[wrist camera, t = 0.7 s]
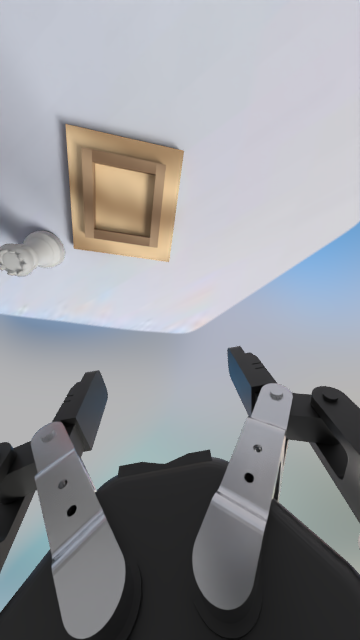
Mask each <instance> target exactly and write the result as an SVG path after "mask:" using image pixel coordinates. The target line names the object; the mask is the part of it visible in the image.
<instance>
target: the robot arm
mask: <svg viewBox="0 0 360 640" xmlns="http://www.w3.org/2000/svg"><path fill="white" fill-rule="evenodd" d="M227 351H228V366H229V373H230V377H231V379H232V381H233V383H234V386H235V388H236V390H237V392H238V394H239V396H240V398H241V401H242V403H243V405H244V407H245V409H246V411H247V413H248V415H249V416H248V417H247V418H246V421H245V423H244V426H243V428H242V431H241V433H240V436H239V438H238V441H237V444H236V446H235V449H234V451H233V454H232V456H231V459H230V462H228V461H225V460H223V459H219V458H214V457H211V453H210V450H205V451H199V452H194V453H189V454H186V455H184V456H182V457H179V458H177V459H175V460H173V461H171V462H169V463H166V464H156V463H147V462H140V463H134V464H129V465H123V466H119V472H118V475H117V476H115V477H113V478H112V479H110V480H108V481H107V482H106V483H104V484H103V485H102V486H101V487H100V488H99V489H98V490H96V488H95V486H94V484H93V482H92V480H91V478H90V476H89V474H88V472H87V470H86V467H85V465H84V463H83V461H82V459H81V456H82V453H83V452H85V451H90V450H92V447H93V444H94V440H95V437H96V434H97V431H98V428H99V425H100V421H101V418H102V415H103V412H104V409H105V405H106V402H107V398H108V394H107V389H106V386H105V383H104V381H103V378H102V375H101V373H100V371H92V372H86V373H85V374H84V376H83V378H82V380H81V382H78V383H76V384H75V385H74V386H73V387H72V388H71V389H70V391H69V393H68V395H67V397H66V398H65V400H64V403H63V404H62V405H61V407H60V409H59V411H58V412H57V414H56V416H55V418H54V420H53V421H52V423H49V424H47V425H45V426H44V427H42V428H41V429H39V430H38V431H37V432H36V433H35V435H34V436H33V438H32V440H31V441H30V442H27V443H25V444H23V445H20V446H18V447H16V448H13V447H12V446H11V445H10V444H9V443H7V442H4V443H0V572H1V569H2V567H3V564H4V562H5V560H6V558H7V555H8V553H9V550H10V548H11V546H12V544H13V541H14V539H15V537H16V534H17V532H18V530H19V527H20V525H21V523H22V521H23V518H24V516H25V514H26V511H27V509H28V507H29V504H30V502H31V500H32V497H33V495H34V493H35V490H37V491H38V496H39V500H40V505H41V509H42V513H43V518H44V522H45V527H46V531H47V536H48V540H49V544H50V550H49V551H48V553H47V554H46V555H45V556H44V558H43V559H42V560H41V562H40V563H39V564H38V565H37V567H36V568H35V569H34V570H33V572H32V573H31V574H30V576H29V577H28V578H27V579H26V581H25V582H24V583H23V584H22V586H21V587H20V588H19V590H18V591H17V592H16V593H15V595H14V596H13V597H12V599H11V600H10V601H9V602H8V604H7V605H6V606H5V607H4V609H3V610H2V611H1V612H0V640H360V574H359V573H358V572H357V571H356V570H355V569H354V568H353V567H352V566H351V565H350V564H349V563H348V562H347V561H346V560H345V559H344V558H343V557H341V556H340V555H339V554H338V553H337V552H336V551H334V550H333V549H332V548H331V547H330V546H329V545H327V544H326V543H325V542H324V541H323V540H322V539H320V538H319V537H318V536H317V535H316V534H315V533H314V532H312V531H311V530H310V529H309V528H308V527H307V526H305V525H304V524H303V523H302V522H301V521H300V520H298V519H297V518H296V517H295V516H294V515H293V514H292V513H290V512H289V511H288V510H287V509H286V508H285V507H283V506H282V505H281V504H280V503H279V497H280V490H281V484H282V483H281V482H282V476H283V470H284V464H285V458H286V452H287V447H288V441H289V439H290V440H297V441H305V442H309V443H310V444H311V446H312V448H313V449H314V451H315V452H316V454H317V456H318V457H319V459H320V460H321V462H322V464H323V465H324V467H325V468H326V470H327V472H328V473H329V475H330V476H331V478H332V480H333V481H334V483H335V484H336V486H337V488H338V489H339V490H340V492H341V494H342V496H343V497H344V499H345V500H346V502H347V504H348V505H349V507H350V508H351V510H352V512H353V513H354V515H355V516H356V518H357V519H358V521H359V522H360V408H359V407H357V406H356V405H355V404H354V403H353V402H352V401H351V400H350V399H349V398H348V397H347V396H346V395H345V394H344V393H342V392H341V391H339V390H337V389H335V388H331V387H326V386H320V387H317V388H315V389H314V390H313V391H312V395H308V394H296V393H292V392H291V391H290V390H289V389H288V388H287V387H285V386H283V385H281V384H277V382H276V381H275V380H274V379H273V377H272V376H271V375H270V373H269V372H268V371H267V369H266V368H265V367H264V365H263V364H262V363H261V361H260V360H259V359H258V357H257V356H255V355H253V354H252V353H244V351H243V350H242V348H241V347H240V346H237V347H232V348H228V350H227ZM358 544H359V549H360V534H359V538H358Z"/></svg>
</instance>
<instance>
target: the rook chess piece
mask: <svg viewBox="0 0 360 640" xmlns="http://www.w3.org/2000/svg"><path fill="white" fill-rule="evenodd" d="M64 258H65V250H64V246H63V244H62V243H61V241H60V240H59V238H57V237H56V236H55V235H53V234H52V233H50V232H47V231H36V232H33V233H31V234H29V235H28V236H27V237H26V238H25V240H24V242H23V244H5V245H3V246H1V247H0V269H1V271H3V270H5V271H7V272H8V273H7V274H8V275H12V276H13V275H15V276H18V277H23V276H27V275H29V274H31V272H32V271H33V270H34V269H36V268H37V266H39V267H42V268H52V267H55V266H57V265H59V264H61V263H62V261H63V260H64Z"/></svg>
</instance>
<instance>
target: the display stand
mask: <svg viewBox="0 0 360 640" xmlns="http://www.w3.org/2000/svg"><path fill="white" fill-rule="evenodd" d="M66 138H67V153H68V168H69V183H70V198H71V213H72V228H73V243H74V249H81V250H88V251H95V252H102V253H109V254H116V255H123V256H131V257H138V258H145V259H152V260H159V261H166V262H169V258H170V251H171V243H172V236H173V228H174V221H175V213H176V206H177V198H178V191H179V183H180V176H181V168H182V161H183V153H184V151H183V150H178V149H174V148H169V147H165V146H160V145H156V144H152V143H147V142H143V141H138V140H134V139H130V138H125V137H121V136H116V135H112V134H108V133H103V132H99V131H94V130H90V129H86V128H81V127H77V126H72V125H68V124H66Z"/></svg>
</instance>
